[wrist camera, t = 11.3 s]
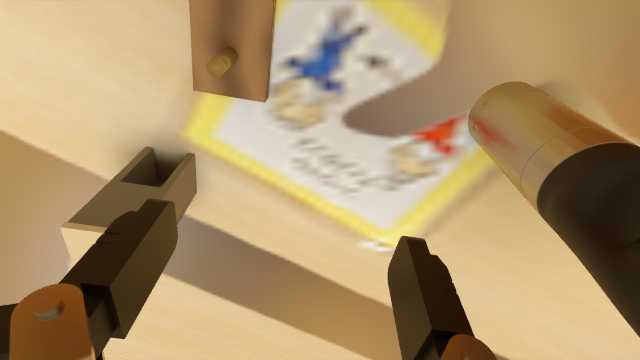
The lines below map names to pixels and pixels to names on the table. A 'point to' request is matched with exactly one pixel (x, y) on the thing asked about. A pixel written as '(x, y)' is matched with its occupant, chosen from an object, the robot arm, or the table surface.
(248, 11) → the pin block
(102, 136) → the table surface
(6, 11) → the table surface
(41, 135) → the table surface
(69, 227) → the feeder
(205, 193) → the table surface
